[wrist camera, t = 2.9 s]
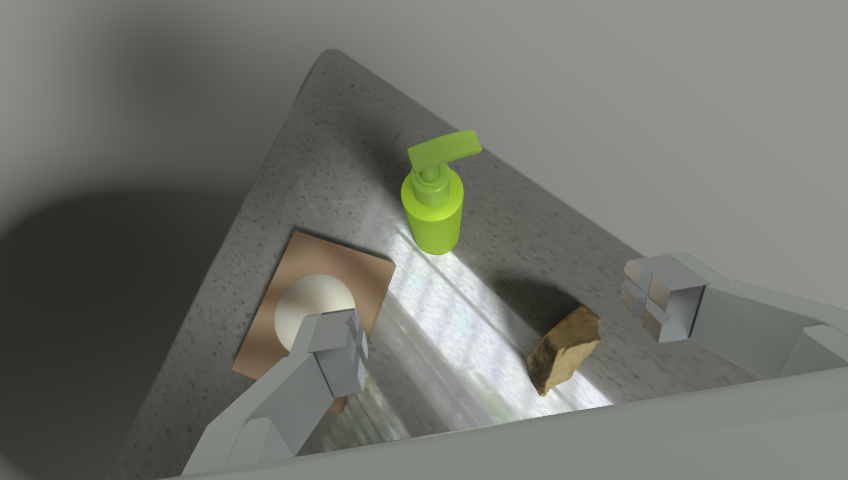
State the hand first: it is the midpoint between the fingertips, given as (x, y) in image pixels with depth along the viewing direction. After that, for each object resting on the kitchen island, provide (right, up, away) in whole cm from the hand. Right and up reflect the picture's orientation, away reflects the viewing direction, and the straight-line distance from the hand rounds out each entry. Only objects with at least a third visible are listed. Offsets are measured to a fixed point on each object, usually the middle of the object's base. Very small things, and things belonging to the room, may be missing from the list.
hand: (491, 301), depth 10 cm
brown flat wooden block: (-15, -8, +32) cm, 36 cm away
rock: (+14, -11, +29) cm, 34 cm away
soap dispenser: (0, +3, +34) cm, 34 cm away
